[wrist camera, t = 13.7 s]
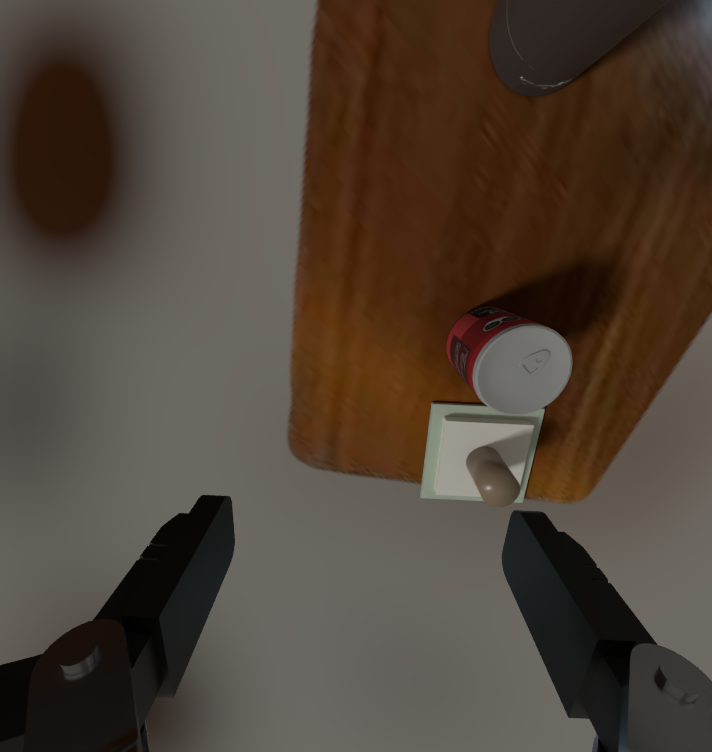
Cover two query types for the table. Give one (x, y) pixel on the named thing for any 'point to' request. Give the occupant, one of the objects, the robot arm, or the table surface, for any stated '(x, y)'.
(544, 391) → the canned food
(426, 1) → the table surface
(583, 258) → the table surface
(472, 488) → the lid
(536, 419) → the mat
